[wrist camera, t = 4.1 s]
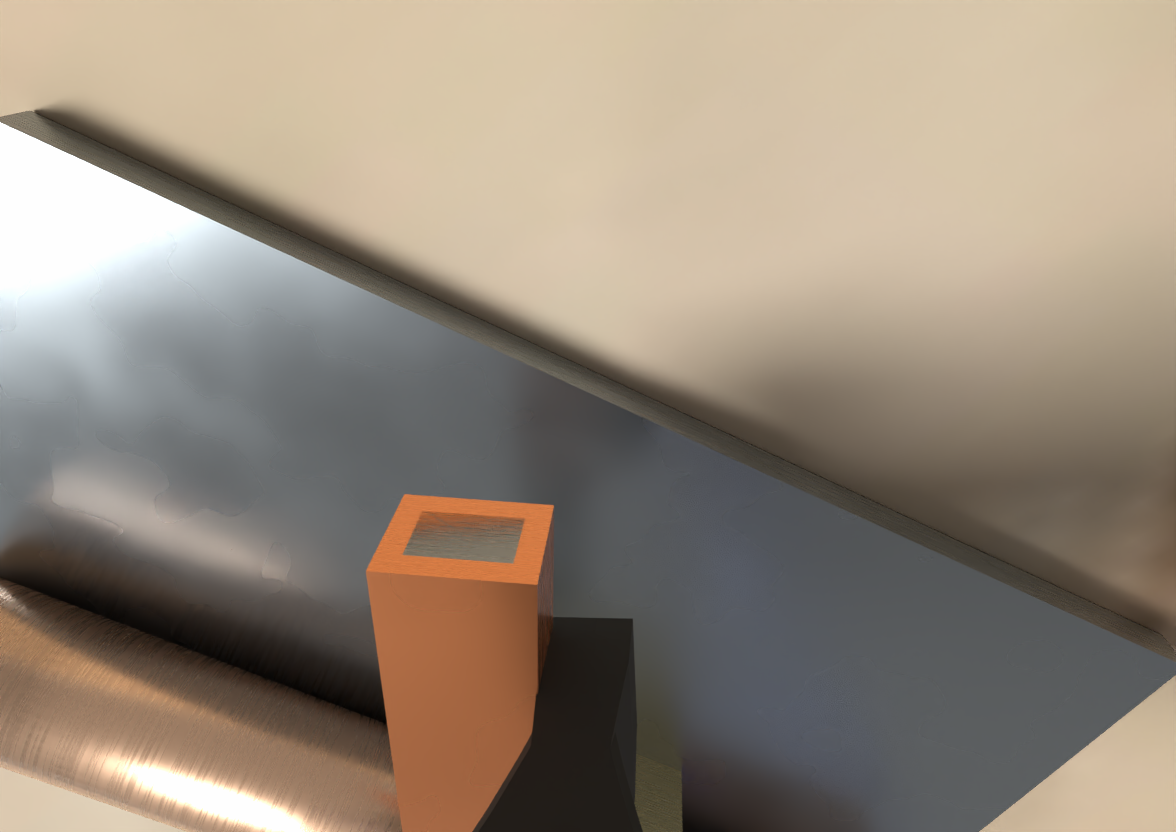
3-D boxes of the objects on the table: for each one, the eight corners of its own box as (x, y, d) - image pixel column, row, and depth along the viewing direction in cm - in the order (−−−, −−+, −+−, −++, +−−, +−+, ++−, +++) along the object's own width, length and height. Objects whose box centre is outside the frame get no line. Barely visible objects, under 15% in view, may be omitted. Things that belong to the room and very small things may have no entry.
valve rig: (1162, 635, 15) (1345, 881, 11) (738, 990, 23) (754, 1215, 19) (29, 110, 12) (-297, 180, 8) (-29, 718, 20) (-212, 916, 16)
